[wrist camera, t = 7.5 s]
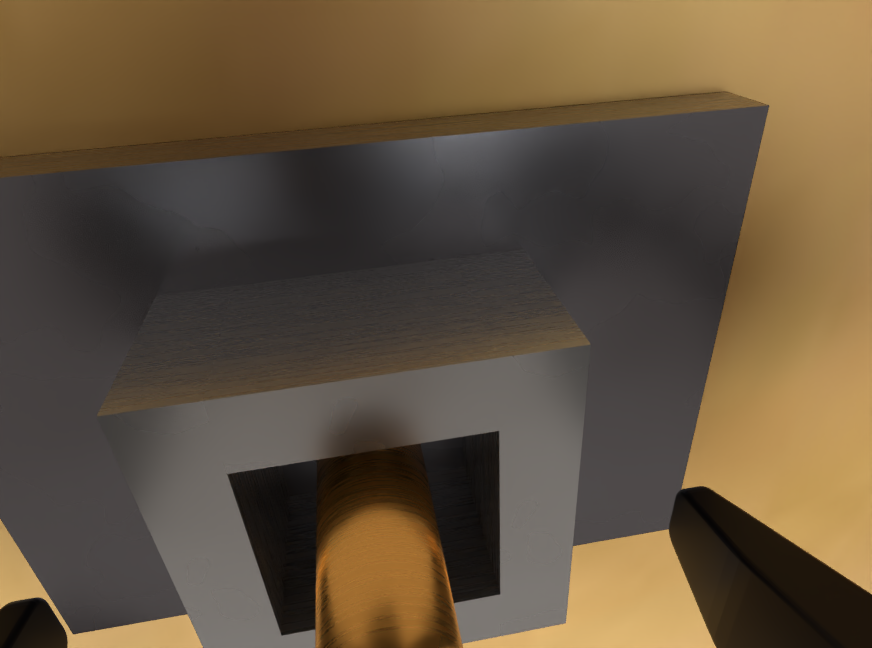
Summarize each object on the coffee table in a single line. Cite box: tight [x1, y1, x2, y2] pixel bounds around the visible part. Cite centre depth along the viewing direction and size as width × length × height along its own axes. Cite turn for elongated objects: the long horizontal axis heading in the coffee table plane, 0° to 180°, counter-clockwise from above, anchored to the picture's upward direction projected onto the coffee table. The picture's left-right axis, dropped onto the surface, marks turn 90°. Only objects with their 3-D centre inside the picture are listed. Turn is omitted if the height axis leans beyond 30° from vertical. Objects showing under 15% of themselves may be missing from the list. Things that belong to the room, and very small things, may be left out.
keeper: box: [0, 92, 769, 648], centre depth 10 cm, size 14×10×6 cm
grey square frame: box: [97, 249, 591, 648], centre depth 10 cm, size 6×6×3 cm
